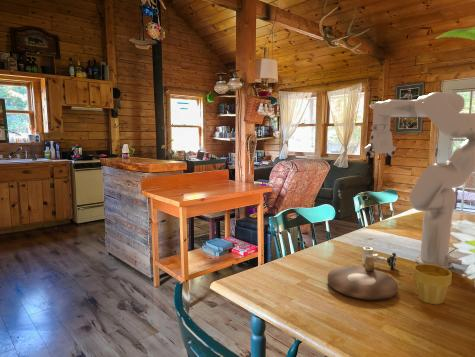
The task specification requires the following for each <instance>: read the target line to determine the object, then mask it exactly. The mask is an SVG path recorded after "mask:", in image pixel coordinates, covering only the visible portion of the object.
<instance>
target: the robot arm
mask: <svg viewBox="0 0 475 357" xmlns="http://www.w3.org/2000/svg"><path fill="white" fill-rule="evenodd" d="M465 104H466V102H465V99H464V97H463V96H462V95H461V94H459V93H456V92H448V91H447V92H443V91H436V92H435V91H434V92H431V93H429V94H426V95H420V96H419V97H418V98H417V99H387V100H384V101H376V102H374V104H373V114H372V126H370V129H371V130H372V131H371V133H370V137H369V143H368V145H366V146H365V147H363V151H364V154H365V155H366V157H367V166H368V167H373V166H374V163H375V162H374V159H375V158H374V156H375V155H376V154H385V155H386V156H385V158H384V159H385V161H384V165H385V166H392V157H393V156H394V155H395V152H396V150H397V146H395V145H393V142H394V141H393V133H392V131H391V118H419V117H420V118H428V119H429V120H430V121H431V122H432V123H433V124H434V125H435V127H436V128H437V129H438V130H439V131H440V133H442V134H443V135H444V136H446V137H448V138H452V139H465V140H464V141H463V142H462V143H461V144H460V145H458V146H457V148H456V149H455V150H454V151H453V153H452V154H451V156H450V157H449V159H448V160H447V161H444V162H443V161H441V162H435V163H431V164H429V165H428V166H427V167H425V168H424V169H423V171H422V172H421V173H420V176H419V177H418V179H417V180H416V182H415V184H414V185H413V187H412V188H411V191H410V193H409V195H408V196H409V197H408V201H409V204H410V206H411V207H412V208H413V209H415V210H416V211H418V212H424V214H423V218H422V227H421V228H422V230H421V243H420V255H417V256H415V262H416V263H417V264H433V265H438V266H442V267H444V268H446V269H448V270H450V269H451V268H453V264H455V265H459V266H462V264H463V259H459V257H455V256H454V257H453V256H451V252H450V239H451V231H452V230H451V227H452V219H453V218H452V217H453V214H454V210H455V206H456V202H457V194H456V191H455V190H454V188H459V187H462V186H464V184H465V183H466V182H467V181H468V179H469V178H470V177H471V175H472V174H473V173H474V171H475V112H473V113H472V112H470V113H469V112H462V111H463V109H464V108H465Z"/></svg>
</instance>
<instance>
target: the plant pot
mask: <svg viewBox="0 0 475 357" xmlns="http://www.w3.org/2000/svg"><path fill="white" fill-rule="evenodd" d="M412 273H413V278H414V280H415V283H416V284H415V285H416V289H417V290H416V291H417V296H418V299H419V300H420V301H422V302H423V303H427V304H431V305H441V304H442V303H444V300H445V297H446V295H447V291H448V288H449V286H451V285H452V278H453V272H452V271H451V270H450V269H446V268H444V267H442V266H438V265H433V264H419V263H417V264H415V265H414V266H413V271H412Z"/></svg>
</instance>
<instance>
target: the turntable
mask: <svg viewBox="0 0 475 357" xmlns="http://www.w3.org/2000/svg"><path fill="white" fill-rule="evenodd" d="M374 259H375V257H374V256H371V255H366V258H365V265H364V266H354V265H353V266H350V265H349V266H348V265H347V266H339V267H335V268H333V269H331V270H330V271H329V272H328V274H327V283H328V285H329V286H330V288H332V289H334V290H335V291H336V292H339V293H340V294H343V295H345V296H348V297H352V298H357V299H362V300H370V301H371V300H374V301H377V300H385V299H390V298H391V297H394V296H395V295H397V293H398V283H397V281H396V279H394V278H393V277H392V276H390V275H389V274H387V273H385V272H382V271H380V270H376V269H375V262H374Z"/></svg>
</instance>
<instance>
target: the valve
mask: <svg viewBox="0 0 475 357" xmlns="http://www.w3.org/2000/svg"><path fill="white" fill-rule="evenodd" d="M366 255H371V256H374V257H375V259H374V263H377V262H379V261H380V262H382V263H385V262H386V263H387V264H388V266H389V267H390V270H392V271H393V270H395V268H396V261H397V253H395V252H392V254H391V255H390V256H389V257H387V258H386V257H384V256H380V255H379V254H378V253H375V254H374V248H372V247H371V246H364V247H362V254H361V258H362V264H363V266H365V258H366Z"/></svg>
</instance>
